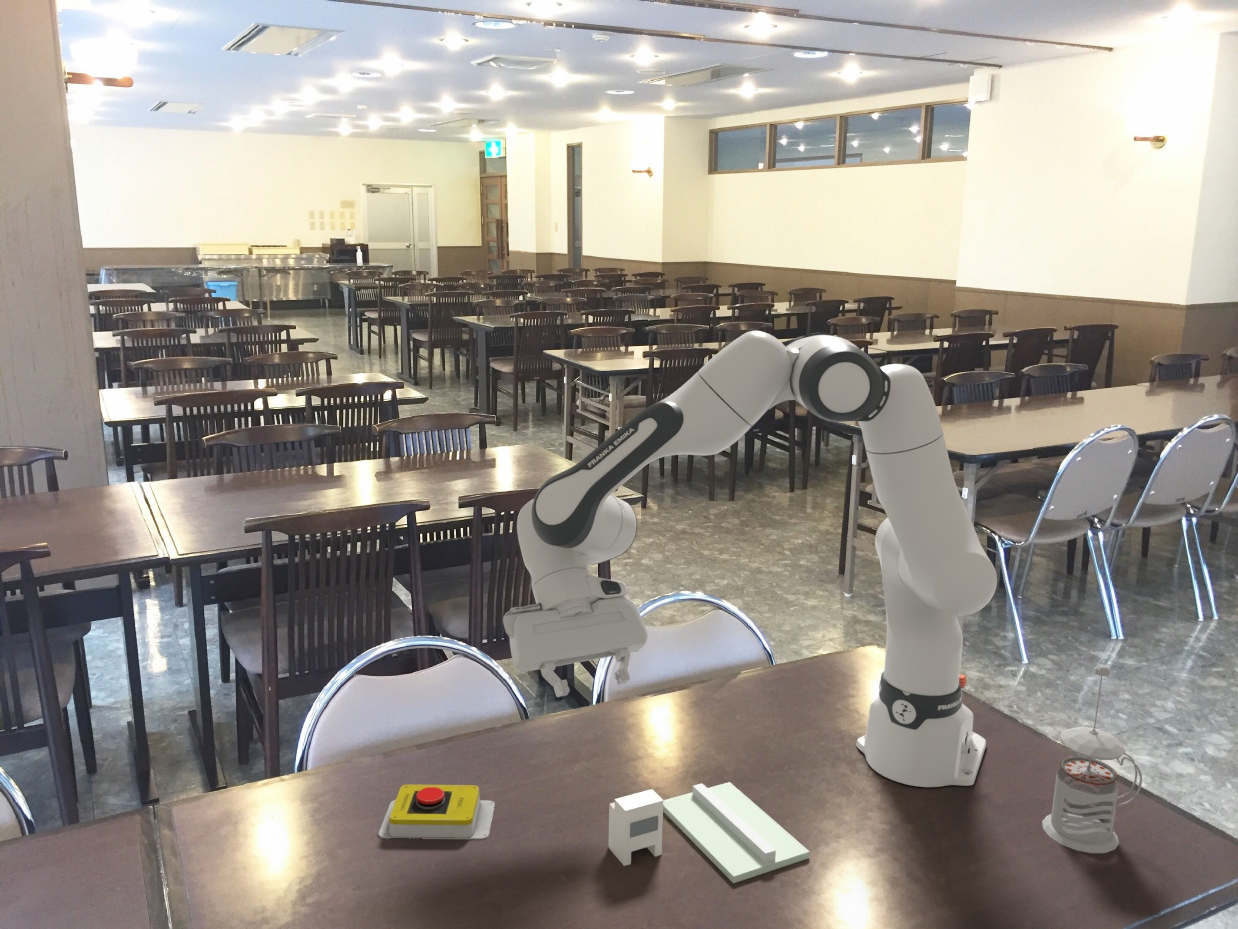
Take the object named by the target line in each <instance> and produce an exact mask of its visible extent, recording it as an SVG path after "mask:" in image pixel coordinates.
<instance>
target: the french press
mask: <svg viewBox="0 0 1238 929" xmlns="http://www.w3.org/2000/svg"><path fill="white" fill-rule="evenodd" d="M1093 672H1094V674H1095V675H1098V676H1100V680H1099V688H1098V694H1097V699H1096V700H1097V701H1096V709H1095V716H1094V722H1093V727H1087V726H1083V725H1081V726H1076V727H1072V728H1068V729H1064V730H1063V731H1062V732H1061V733H1060V734H1059V736H1060V741H1061V744H1063V745H1064V747H1065V748H1066V749H1067V750H1068V751H1071V752H1072V753H1074V754H1076V755H1079V756H1076V755H1073V756H1072V755H1070V756H1067V757H1064V758H1062V760H1060V762H1059V763H1060V767H1059V768H1058V769H1057V771H1056V775H1055V784H1054V792H1053V800H1052V808H1051V813H1050V814H1048V815H1046V817H1045V818H1044V819H1042V820H1041V821H1042V823H1041V824H1042V829H1043V831H1044V832H1045V833H1046V834H1047V835H1048V836H1049V838H1051V839H1052V840H1053V841H1055V842H1057V843H1058V844H1060V845H1062V846H1064V847H1066V848H1069V849H1072V850H1074V851H1078V852H1084V853H1088V854H1106V853H1109V852H1111V851H1115V850H1116V849H1117V847H1118V846H1119V845H1120V840H1119V837H1118V835H1117V833H1116V832H1115V831H1114V827H1115V821H1116V815H1117V810H1118V809H1117V808H1119V807H1123V806H1124V805H1127V804H1129V803H1131V802H1133V801H1134V800H1135V799H1136V797H1137V796H1138V795H1139V792H1140V790H1141V788H1142V784H1143V775H1142V772H1141V769H1140V767H1139V766H1138V765H1137V764H1136V763H1135V760H1134V759H1133V758H1132V756H1130V755H1129V754H1127V753H1126V747H1125V745H1124V743H1122V741H1120V740H1119V739H1118V738H1117V737H1116V736H1114V735H1112V734H1110V733H1108V732H1106V731H1104V730H1103V729H1099V728H1096V725H1097V719H1098V718H1097V717H1098V712H1099V711H1098V710H1099V703H1100V697H1101V688H1102V683H1103V677H1109V676H1110V674H1111V673H1110V669H1109V667H1108V666H1107V665H1105V664H1099V665H1096V666H1095V667H1094V670H1093ZM1123 755H1124V756H1125V757H1122V756H1123ZM1121 757H1122V758H1121ZM1120 758H1121V759H1120ZM1115 759H1116V761H1117V763H1118V764H1119V765H1120V766H1123V763H1124V760H1126V761H1128V762H1130V763H1132V764H1133V766H1134V780H1133V783H1132V785H1131V786H1130V788H1129V789H1128V791H1127V792H1125V793H1123V794H1122V795H1119V796H1118V794H1119V784H1118V783H1117V784H1116V780H1117V779H1118V773H1117V772H1116V770H1115V769H1114V768H1113V767H1112V766H1110V765H1109V764H1108V763H1105V762H1104V761H1113V760H1115ZM1120 760H1121V761H1120ZM1138 775H1139V783H1138V786H1137V790H1136V792H1135V793H1134V795H1133V797H1131V798H1130V799H1129V800H1127V801H1124V802H1121V803H1119V804H1117V802H1118V801H1117V800H1119V799H1122V798H1125V797H1126V796H1127V795H1129V794H1131V791H1132V790H1133V789H1134V787H1135V785H1136V783H1137V779H1138ZM1069 777H1070V779H1068V780H1066V781H1064V782H1063V781H1062V780H1064V779H1066V778H1069ZM1074 782H1081V783H1084V784H1073V785H1071V786H1070V784H1072V783H1074ZM1086 784H1089V785H1093V786H1094V787H1095V788H1097V789H1098V790H1099V792H1098V791H1096V790H1095V789H1094V788H1091V787H1090V786H1087V785H1086ZM1115 785H1116V790H1115ZM1082 790H1085V792H1084V791H1082ZM1065 801H1067V803H1065ZM1092 804H1094V805H1095V806H1093V805H1092Z"/></svg>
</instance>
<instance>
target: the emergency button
mask: <svg viewBox="0 0 1238 929" xmlns="http://www.w3.org/2000/svg"><path fill="white" fill-rule="evenodd" d="M494 807H496V803H495V802H494V801H493V800H486V799H484V800H483V799H481V796H480V788H479V786H478V785H473V784H469V785H468V784H408V783H407V784H403V785H402V786H400V788H399V791H398V794H397V796H396V799H393V800H391V801H390V802H389V805H388V807H387V811H386V813H385V815H384V817H383V820H382V824H381V826H380V828H379V830H378V837H379V838H380V839H390V838H405V840H406V838H409V839H410V840H411V838H413V839H412V840H415V839H414V838H417V839H416V840H419V839H418V838H422V840H485V839H487V838H489V836H490V832H491V827H492V823H491V822H492V821H493V817H494V813H495V808H494ZM493 812H494V813H493Z"/></svg>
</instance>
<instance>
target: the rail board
mask: <svg viewBox="0 0 1238 929" xmlns="http://www.w3.org/2000/svg"><path fill="white" fill-rule="evenodd" d="M691 791H692V792H688V793H685V794H681V795H677V796H675V797H670V798H666V799H662V800H663V814H664V815H666V816H667V817H668V818H669V819H670V820H671V821H672V823H674V824H675V825H676V826H677V827H678V828H679V829H680V830H681V831H682V833H684V834H685V835H686V836H687V838H689V840H691V842H692V843H693V844H694V845H695V846H696V847H697V848H698V849H699V850H700V851H701V852H702V853H703V854H704V855H705V856H706V857H707V858H708V859H709V860H710V861H711V862H712V863H713V864H714V866H716V867H717V868H718V869H719V871H720V872H722V873H723V874H724V876H726V878H728V880H729V881H730V882H731V883H733V884H736V883H738V882H742V881H745V880H747V879H751V878H753V877H757V876H760V875H762V874H766V873H769V872H772V871H775V870H778V869H781V868H784V867H787V866H789V865H793V864H796V863H800V862H802V861H805V860H808V859H810V850H809V849H807V847H805V846H804V845H803V844H802V843H800V842H799V841H798V840H797V839H796V838H795V837H794V836H792V835H791V834H790V833H789V832H788V831H787V830H785V829H784V828H783V827H782V826H781V825H780V824H779V823H778V822H776V821H775V820H774V819H773V818H772V817H771V816H770V815H769V814H767V813H766V811H764V810H762V809H761V808H760V807H759V806H758V805H757V804H756V803H754V802H753V801H752V800H751V799H750V798H749V797H748V796H746V795H745V794H744V793H743V792H742V790H740V789H738V788H737V787H736V786H735V785H734V784H733V783H732V782H730V781H728V782H724V783H722V784H717V785H714V786H711V787H707V786H706V785H705V784H703V783H698V784H694V785H692V790H691Z"/></svg>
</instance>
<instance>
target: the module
mask: <svg viewBox="0 0 1238 929" xmlns="http://www.w3.org/2000/svg"><path fill="white" fill-rule="evenodd" d="M663 800H664V799H663V798H662V797H661V796H660V795H659V794H658V793H657V792H655V790H653V789H652V788H651V789H648V790H647V789H646V790H643V791H641V792H637V793H636V792H635V793H632V794H629V795H625V796H621V797H618V798H614V802H609V804H608V808H609V809H608V849H609V850H610V851H611V852H612V853H613V855H614V856H615V857H616V858H617V859H618V860H619V862H620V863H621V864H622V865H623V867H626V866H629V865H632V852H635V851H638V850H641V849H646V848H647V850H649V851H650V853H651V854H652V855H653V856H654V857H658V856H661V855H663V854H662V851H663V821H664V820H663V818H664V816H663V815H664V812H663Z"/></svg>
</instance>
